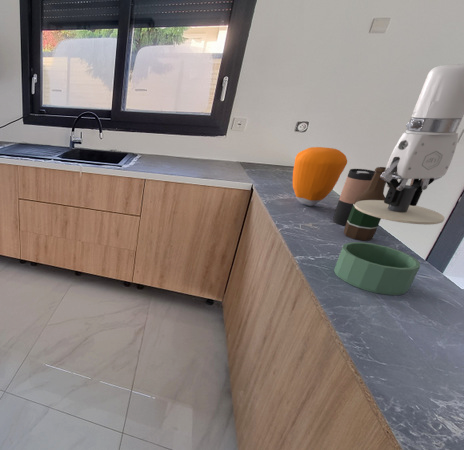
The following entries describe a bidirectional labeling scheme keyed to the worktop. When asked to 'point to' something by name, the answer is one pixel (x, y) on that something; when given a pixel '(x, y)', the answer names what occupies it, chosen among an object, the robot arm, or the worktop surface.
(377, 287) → the green round bowl
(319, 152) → the orange egg-shaped ornament
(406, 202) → the lid
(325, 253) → the worktop surface
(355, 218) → the beer bottle
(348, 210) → the travel mug
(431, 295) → the worktop surface
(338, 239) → the worktop surface
